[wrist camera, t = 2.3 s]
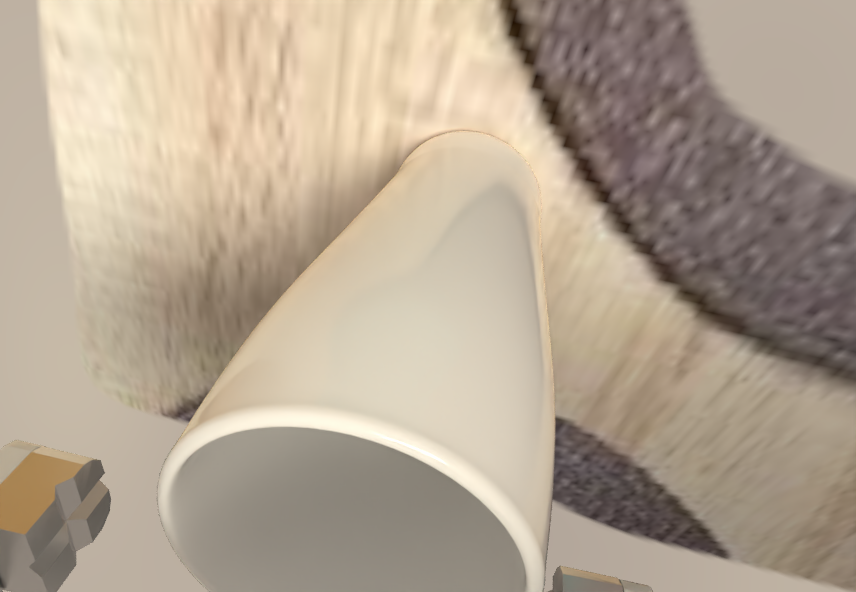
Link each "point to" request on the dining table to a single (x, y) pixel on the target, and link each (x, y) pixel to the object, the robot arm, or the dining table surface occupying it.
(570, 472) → the dining table surface
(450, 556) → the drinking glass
